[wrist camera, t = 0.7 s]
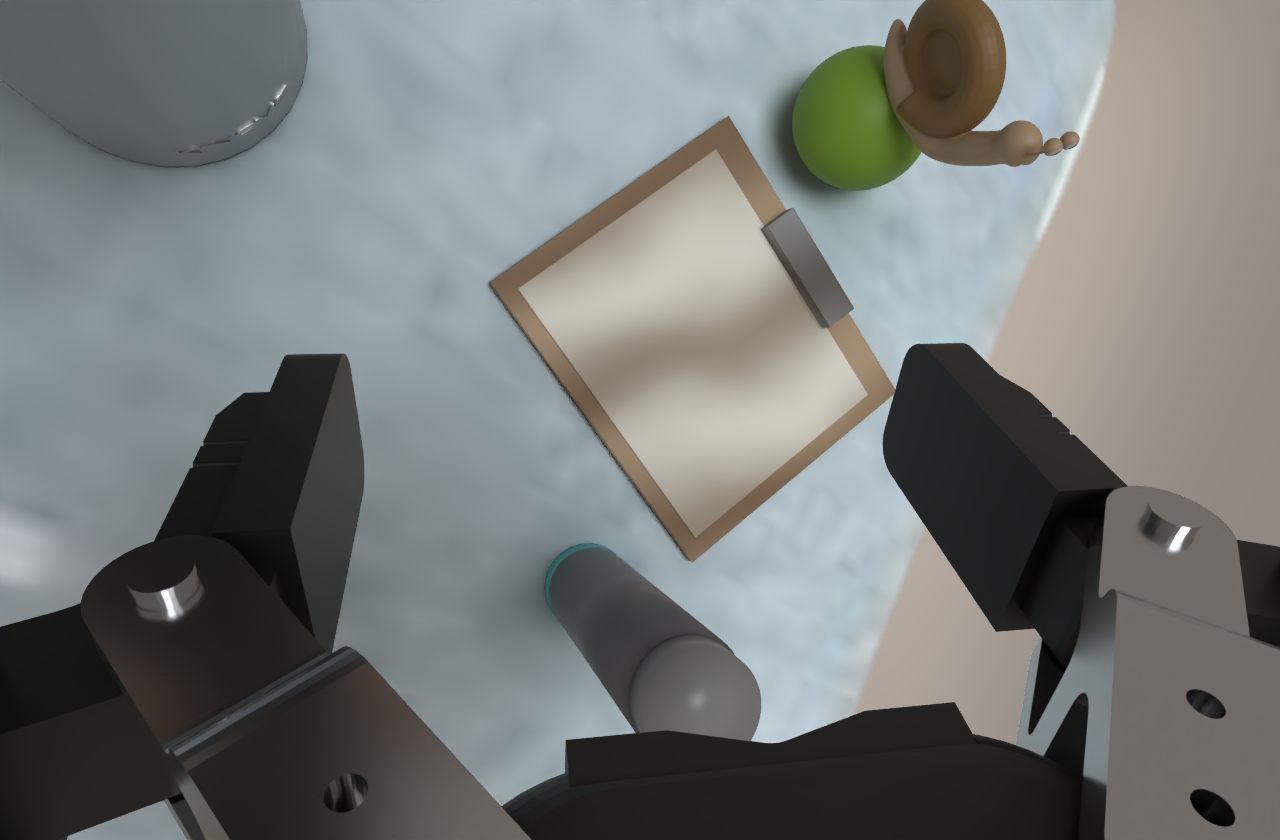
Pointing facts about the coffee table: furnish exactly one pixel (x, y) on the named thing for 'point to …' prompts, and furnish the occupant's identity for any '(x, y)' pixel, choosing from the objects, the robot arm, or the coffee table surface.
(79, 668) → the robot arm
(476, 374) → the coffee table surface
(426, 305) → the coffee table surface
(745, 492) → the clipboard
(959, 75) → the snail figurine
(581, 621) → the cylinder
